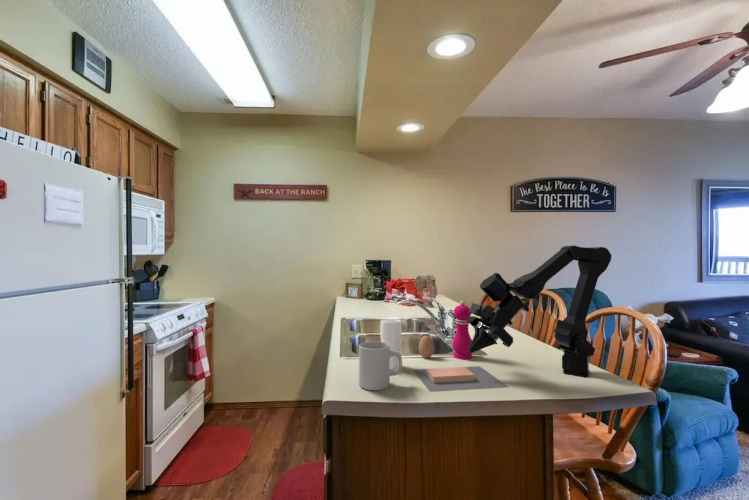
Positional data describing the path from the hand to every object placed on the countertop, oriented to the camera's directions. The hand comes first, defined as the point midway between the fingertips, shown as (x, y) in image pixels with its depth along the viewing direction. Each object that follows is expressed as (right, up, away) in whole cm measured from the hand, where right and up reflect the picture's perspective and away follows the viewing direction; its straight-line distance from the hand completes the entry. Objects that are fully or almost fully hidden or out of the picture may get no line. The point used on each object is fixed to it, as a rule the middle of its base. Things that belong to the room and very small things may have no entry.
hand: (469, 351), depth 102 cm
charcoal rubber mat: (-4, -8, -1) cm, 9 cm away
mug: (-26, -8, -5) cm, 28 cm away
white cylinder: (-23, -8, +9) cm, 26 cm away
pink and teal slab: (0, -6, 0) cm, 6 cm away
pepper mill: (+3, -8, +20) cm, 22 cm away
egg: (-10, -8, +20) cm, 24 cm away
